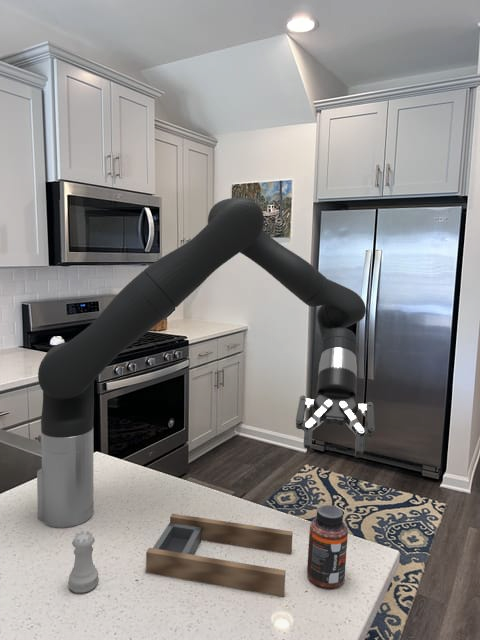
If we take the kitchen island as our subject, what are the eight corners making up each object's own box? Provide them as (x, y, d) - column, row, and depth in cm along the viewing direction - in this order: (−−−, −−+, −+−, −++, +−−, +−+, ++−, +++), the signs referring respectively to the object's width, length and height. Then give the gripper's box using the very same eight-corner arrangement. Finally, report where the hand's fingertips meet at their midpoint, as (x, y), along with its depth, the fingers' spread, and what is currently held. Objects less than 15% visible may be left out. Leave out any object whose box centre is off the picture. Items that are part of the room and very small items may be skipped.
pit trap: (149, 567, 77) (149, 552, 77) (169, 535, 86) (169, 522, 86) (184, 573, 76) (185, 558, 76) (201, 540, 85) (201, 527, 85)
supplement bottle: (344, 593, 73) (349, 523, 71) (305, 586, 74) (309, 518, 72) (344, 568, 79) (348, 504, 77) (308, 563, 80) (311, 499, 78)
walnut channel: (145, 572, 76) (146, 552, 75) (172, 531, 87) (172, 513, 87) (283, 596, 71) (284, 575, 71) (291, 550, 83) (292, 531, 83)
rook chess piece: (81, 598, 70) (81, 547, 69) (61, 587, 72) (61, 537, 71) (105, 582, 73) (105, 533, 72) (85, 571, 76) (85, 523, 75)
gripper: (301, 362, 94) (292, 439, 84) (376, 368, 91) (376, 449, 81) (301, 382, 99) (293, 456, 90) (372, 388, 96) (372, 466, 87)
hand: (332, 453), depth 85 cm, fingers open, 8 cm apart
